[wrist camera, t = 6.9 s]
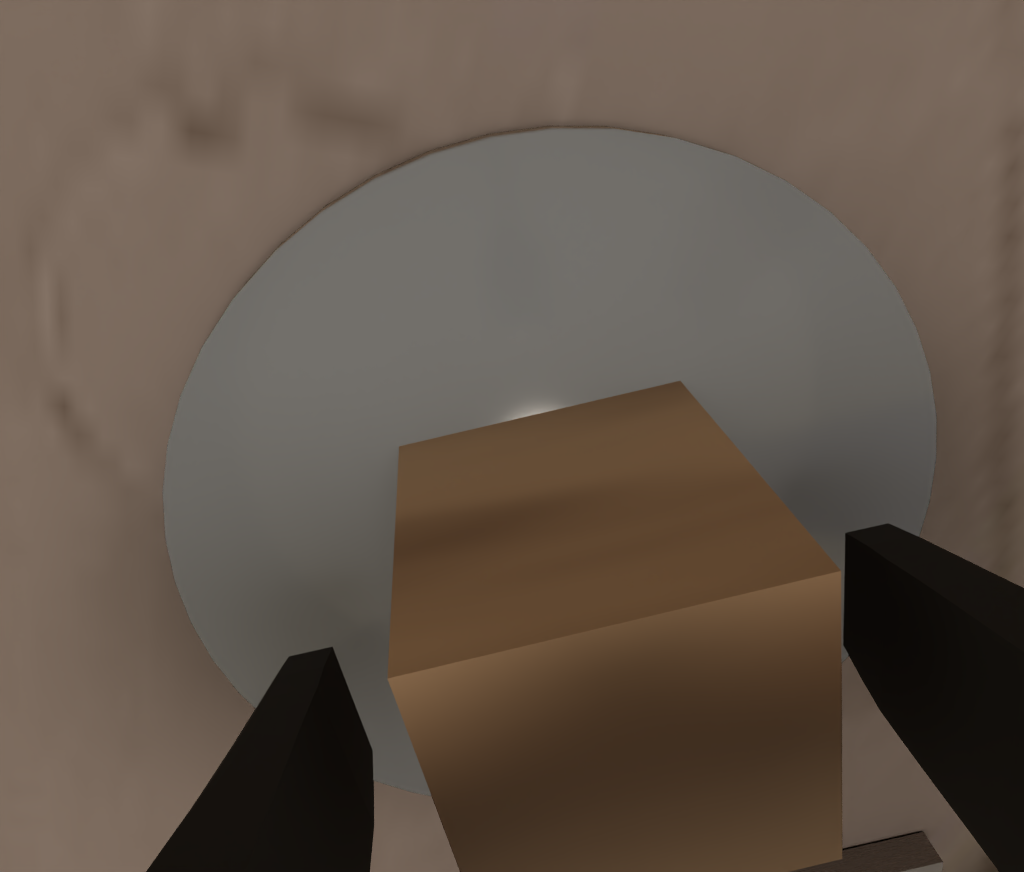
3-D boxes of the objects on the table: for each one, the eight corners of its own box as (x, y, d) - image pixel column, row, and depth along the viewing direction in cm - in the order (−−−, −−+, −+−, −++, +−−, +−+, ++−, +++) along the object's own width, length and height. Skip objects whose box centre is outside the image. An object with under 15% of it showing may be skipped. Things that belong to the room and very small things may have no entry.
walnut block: (704, 602, 14) (841, 858, 9) (464, 659, 14) (487, 944, 9) (679, 380, 12) (841, 570, 7) (398, 446, 12) (387, 678, 7)
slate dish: (893, 696, 17) (914, 724, 16) (313, 827, 16) (308, 862, 16) (933, 39, 11) (970, 37, 10) (32, 229, 10) (4, 241, 10)
